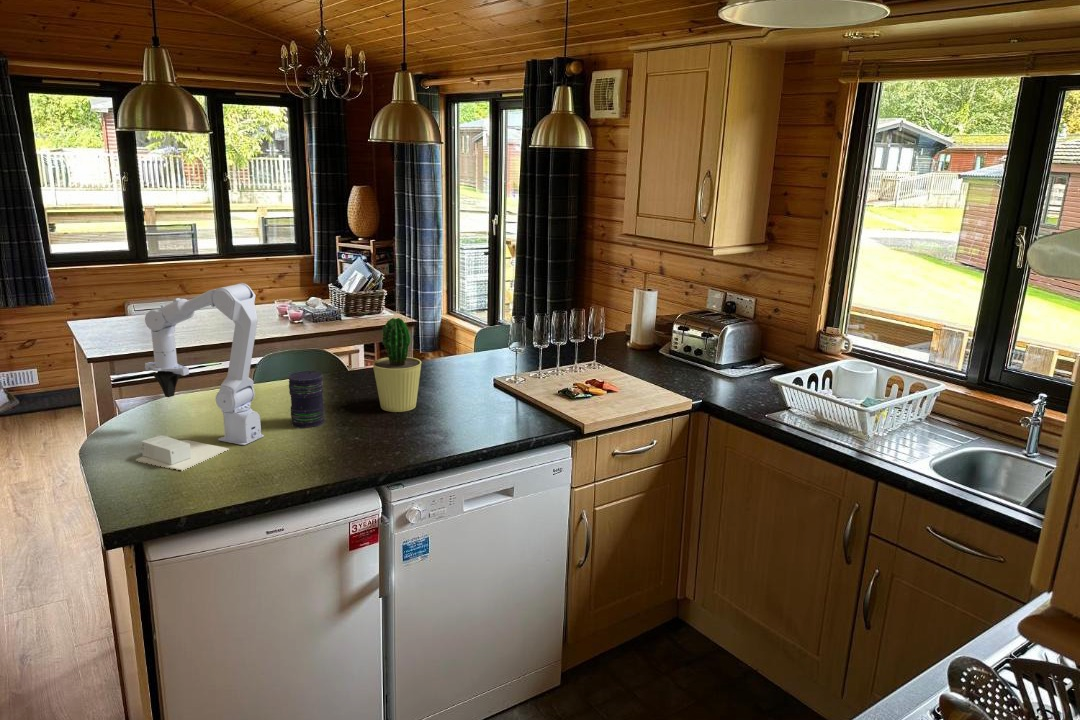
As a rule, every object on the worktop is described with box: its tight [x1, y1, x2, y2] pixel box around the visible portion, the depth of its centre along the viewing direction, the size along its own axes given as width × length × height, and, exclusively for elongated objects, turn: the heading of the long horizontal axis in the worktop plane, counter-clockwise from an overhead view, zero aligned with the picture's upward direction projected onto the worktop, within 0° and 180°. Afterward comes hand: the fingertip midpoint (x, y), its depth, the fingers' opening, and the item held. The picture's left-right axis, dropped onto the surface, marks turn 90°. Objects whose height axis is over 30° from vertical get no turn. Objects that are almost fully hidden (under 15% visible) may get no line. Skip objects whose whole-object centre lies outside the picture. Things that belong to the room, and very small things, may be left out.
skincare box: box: [140, 434, 191, 465], centre depth 197 cm, size 6×4×12 cm
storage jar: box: [288, 370, 326, 429], centre depth 225 cm, size 10×10×15 cm
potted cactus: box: [372, 317, 422, 413], centre depth 240 cm, size 15×15×30 cm
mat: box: [135, 439, 230, 472], centre depth 200 cm, size 16×16×1 cm
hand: (169, 396), depth 215 cm, fingers closed
